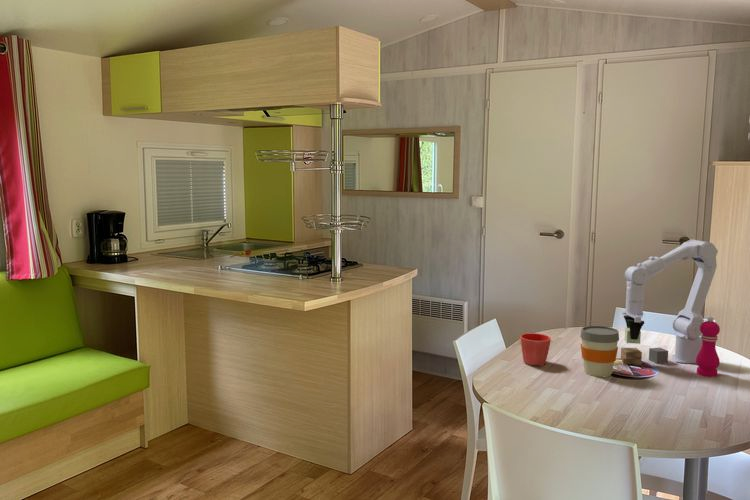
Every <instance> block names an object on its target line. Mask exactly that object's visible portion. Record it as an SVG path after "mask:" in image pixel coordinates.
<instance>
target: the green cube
mask: <svg viewBox="0 0 750 500" xmlns="http://www.w3.org/2000/svg"><path fill="white" fill-rule="evenodd" d="M641 332H642V331H641V330H640V333H639V336H638V339H637V340H635V339H631V336H630V328H627V327H624V341H625V342H626V344H635V345H636V344H638V345H641V336H642V333H641Z"/></svg>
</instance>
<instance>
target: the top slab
mask: <svg viewBox="0 0 750 500" xmlns="http://www.w3.org/2000/svg"><path fill="white" fill-rule="evenodd" d="M621 355H622V356H623V357H624V358H625V359H641V360H643V359H642V358H643V357H642V355H643V352H642V351H641V350H640V349H639V348H637V347H620V356H621Z"/></svg>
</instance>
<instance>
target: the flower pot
mask: <svg viewBox="0 0 750 500" xmlns="http://www.w3.org/2000/svg"><path fill="white" fill-rule="evenodd" d="M551 341H552V338H551V337H550V336H548V334H542V333H536V332H535V333H533V332H530V333H528V332H527V333H523V334H521V335H520V345H521V354H522V359H523V363H524V362H525V363H527V364H526V365H528V364H531V365H530V366H532V365H542V366H544V364H545V365H546V362H547V358H548V354H549V349H550V345H551ZM525 363H524V364H525Z"/></svg>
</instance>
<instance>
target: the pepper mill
mask: <svg viewBox="0 0 750 500" xmlns="http://www.w3.org/2000/svg"><path fill="white" fill-rule="evenodd" d="M700 331H701V333H702V334H701V336H700V337H701V339H702V347H701V350H700V351H699V353H698V355H697V357H696V363H697V364H696V363H695V364H696V365H697V366H698V367H696V374H697V375H699V376H701V377H706V378H716V377H718V370H717V369H718V368H719V366H720V365H721V363H720V362H721V361H720V360H721V359H720V357H719V355H718V353H717V350H716V349H717V347H716V343H717V341H718V338H719V337H718V335H719V334H720V331H721V327H720V325H719V324H718V323H717V322H715V321H714V317H712V316H709V317H707V320H705V321H704V322H703V323H702V324H701V326H700Z"/></svg>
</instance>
